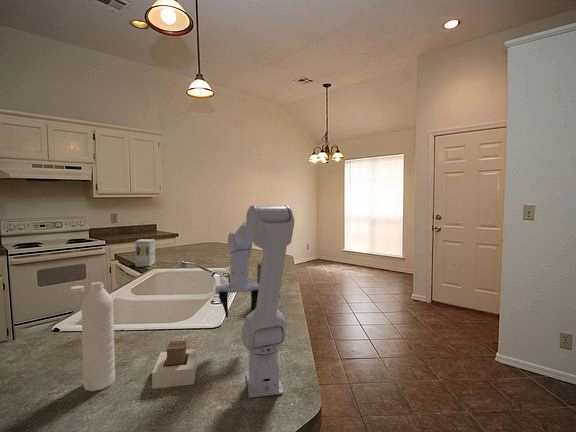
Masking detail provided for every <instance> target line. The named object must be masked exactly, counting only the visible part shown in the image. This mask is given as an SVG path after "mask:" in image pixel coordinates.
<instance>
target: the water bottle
mask: <svg viewBox="0 0 576 432" xmlns="http://www.w3.org/2000/svg"><path fill="white" fill-rule="evenodd" d="M103 283H104V282H103V281H95V282H92V283H91V286H90V290H89V292H88V293H87V294H86V296H85V298H84V299H83V300H82V303H81V305H80V308H81V334H82V338H81V339H82V340H81V343H82V348H81V349H82V368H83V369H82V371H83V373H82V375H83V384H82V385H83V389H84V390H85V391H87V392H88V391H89V392H97V391H100V390H104V389H106V388H107V387H110V386H111V385H112V384H113V383H114V382H115V379H116V369H115V368H116V366H115V365H116V364H115V358H116V357H115V330H114V328H115V324H114V300H113V297H112V295H111V294H110V293H108V291H107V289H105V288H104V286H105V285H104V284H103ZM84 291H85V286H84V285H74V286H71V287H70V293H73V294H77V293H81V292H84Z"/></svg>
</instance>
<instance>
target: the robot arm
mask: <svg viewBox="0 0 576 432" xmlns="http://www.w3.org/2000/svg"><path fill="white" fill-rule="evenodd" d="M245 217H246V218H245V220H246V221H245V222H243V223H242V224H241V225H239V227H238V229H237V230H236V231H235V232H229V234H228V236H227V248H228V251H229V252H230V254H229V256H230V259H229V263H230V264H229V265H230V266H229V268H230V269H229V270H230V271H229V272H230V273H229V274H230V275H229V277H230V279H229V281H230V283H229V284H223V285H215V286H214V287H215V290H214V292H215V295H218V298H219V300H220V302H221V304H222V307H223V310H224V313H225V318H228V317H229V308H228V293H229V294H230V293H234V294H235V293H249V292H250V302H251V303H250V312H249V313H248V314H247V315H246V316H245V320H244V323H243V326H242V328H241V339H242V343H243V346H244V348H245V349H246V350H247V351H248V371H247V372H246V373H245V374H246V382H247V391H248V393H247V394H248V397H249V398H250V399H251V398H258V397H260V398H261V397H267V396H275V395H283V394H284V390H283V386H282V382H281V379H280V366H279V349H281V348H282V344H283V343H284V342H285V341H286V338H287V330H286V329H287V327H286V326H287V325H286V324H287V321H286V318H285V316H284V314H283V313H282V312H281V311H280V310H279V309H278V305H279V301H280V300H279V299H280V297H279V294H280V293H281V286H282V282H283V281H282V279H283V273H284V267H285V261H286V254H287V253H286V252H287V247H288V246H289V245H290V244H291V243H292V240H293V236H294V235H293V234H294V228H295V218H294V217H295V216H294V212H293V210H292V209H291V207H290V206H289V205H250V206H249V207H248V209H247V211H246V216H245ZM253 245H254V246H256V247H258V248H259V249H262V258H261V262H262V265H261V273H260V281H259V284H257V283H250V257H251V256H252V249H253ZM280 295H281V294H280Z"/></svg>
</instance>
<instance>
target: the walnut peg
mask: <svg viewBox="0 0 576 432" xmlns="http://www.w3.org/2000/svg"><path fill="white" fill-rule="evenodd" d="M186 350H187V340H186V339H185V340H173V341H169V343H168V345H167V348H166V352H167V367H169V366H179V365H186Z"/></svg>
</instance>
